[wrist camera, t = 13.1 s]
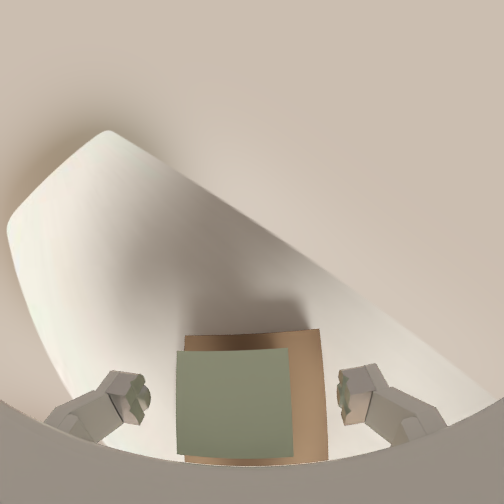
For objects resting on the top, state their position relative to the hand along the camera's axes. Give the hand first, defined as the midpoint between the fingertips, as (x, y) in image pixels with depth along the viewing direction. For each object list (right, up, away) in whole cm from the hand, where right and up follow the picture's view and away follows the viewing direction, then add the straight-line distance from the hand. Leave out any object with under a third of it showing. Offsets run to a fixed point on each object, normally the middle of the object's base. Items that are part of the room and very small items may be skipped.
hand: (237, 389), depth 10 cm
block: (+1, -4, +5) cm, 6 cm away
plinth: (+1, -5, +8) cm, 9 cm away
